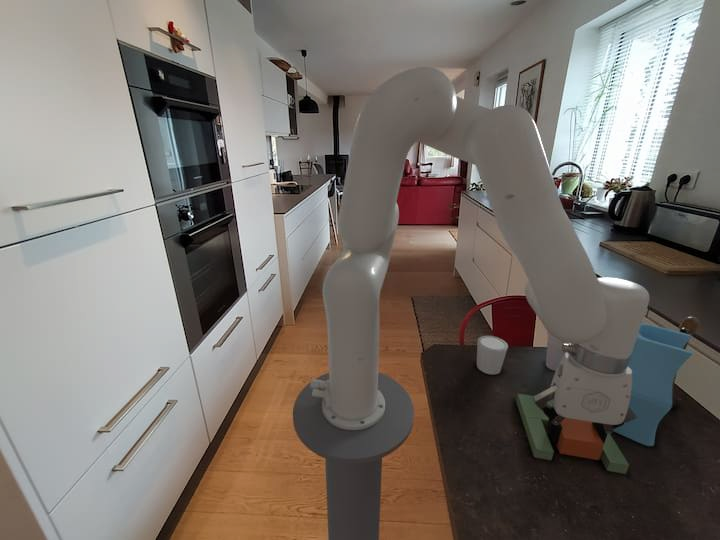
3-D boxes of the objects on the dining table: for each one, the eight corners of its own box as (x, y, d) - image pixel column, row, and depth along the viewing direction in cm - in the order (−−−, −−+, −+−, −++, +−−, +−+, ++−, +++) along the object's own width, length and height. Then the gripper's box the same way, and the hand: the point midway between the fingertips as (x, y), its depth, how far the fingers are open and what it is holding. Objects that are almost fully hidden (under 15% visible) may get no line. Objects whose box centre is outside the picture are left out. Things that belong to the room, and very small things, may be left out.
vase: (653, 449, 58) (693, 354, 51) (600, 425, 63) (630, 336, 56) (655, 423, 63) (691, 334, 57) (606, 404, 68) (634, 320, 62)
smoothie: (541, 371, 79) (553, 319, 74) (538, 356, 84) (549, 308, 80) (571, 377, 77) (586, 325, 72) (566, 362, 82) (579, 312, 77)
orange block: (559, 453, 56) (564, 437, 55) (548, 426, 61) (552, 411, 60) (599, 460, 54) (604, 444, 53) (584, 432, 60) (588, 417, 59)
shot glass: (504, 378, 76) (509, 353, 74) (473, 372, 78) (477, 347, 76) (502, 362, 82) (507, 338, 80) (474, 356, 84) (477, 333, 82)
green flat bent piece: (533, 457, 56) (536, 448, 56) (515, 401, 69) (517, 393, 68) (626, 474, 53) (629, 465, 53) (589, 412, 66) (591, 404, 66)
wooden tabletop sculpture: (667, 413, 66) (703, 326, 59) (639, 399, 70) (670, 316, 63) (678, 402, 69) (713, 319, 62) (651, 389, 73) (681, 309, 66)
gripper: (546, 361, 50) (526, 449, 56) (678, 377, 46) (640, 469, 52) (533, 336, 57) (516, 417, 63) (646, 348, 53) (617, 433, 59)
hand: (573, 440), depth 58 cm, fingers closed on orange block, 5 cm apart
